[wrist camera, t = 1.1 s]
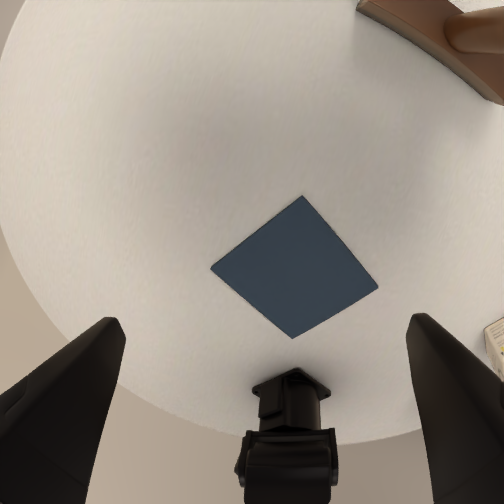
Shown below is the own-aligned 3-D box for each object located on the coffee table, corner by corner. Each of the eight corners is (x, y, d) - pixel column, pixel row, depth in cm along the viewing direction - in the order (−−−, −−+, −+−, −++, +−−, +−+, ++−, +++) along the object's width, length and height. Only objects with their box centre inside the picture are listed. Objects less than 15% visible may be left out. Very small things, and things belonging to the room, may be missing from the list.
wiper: (485, 101, 15) (634, 165, 4) (354, 11, 14) (468, -68, 2) (500, 68, 14) (648, 109, 2) (371, -25, 12) (483, -117, 1)
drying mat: (377, 285, 24) (378, 287, 24) (292, 336, 28) (292, 339, 28) (302, 195, 21) (302, 196, 20) (210, 266, 24) (209, 269, 24)
